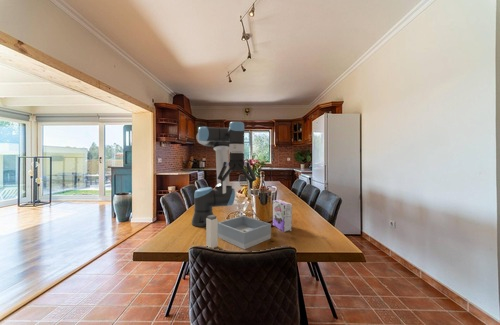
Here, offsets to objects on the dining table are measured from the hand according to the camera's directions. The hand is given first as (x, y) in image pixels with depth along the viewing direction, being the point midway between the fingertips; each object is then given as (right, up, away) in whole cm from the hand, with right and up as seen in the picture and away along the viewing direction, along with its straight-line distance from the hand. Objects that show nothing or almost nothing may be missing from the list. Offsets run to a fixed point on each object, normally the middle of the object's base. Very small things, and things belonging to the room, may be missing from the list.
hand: (236, 194), depth 110 cm
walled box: (+4, -25, +8) cm, 27 cm away
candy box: (+27, -25, +24) cm, 44 cm away
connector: (-12, -26, -3) cm, 28 cm away
